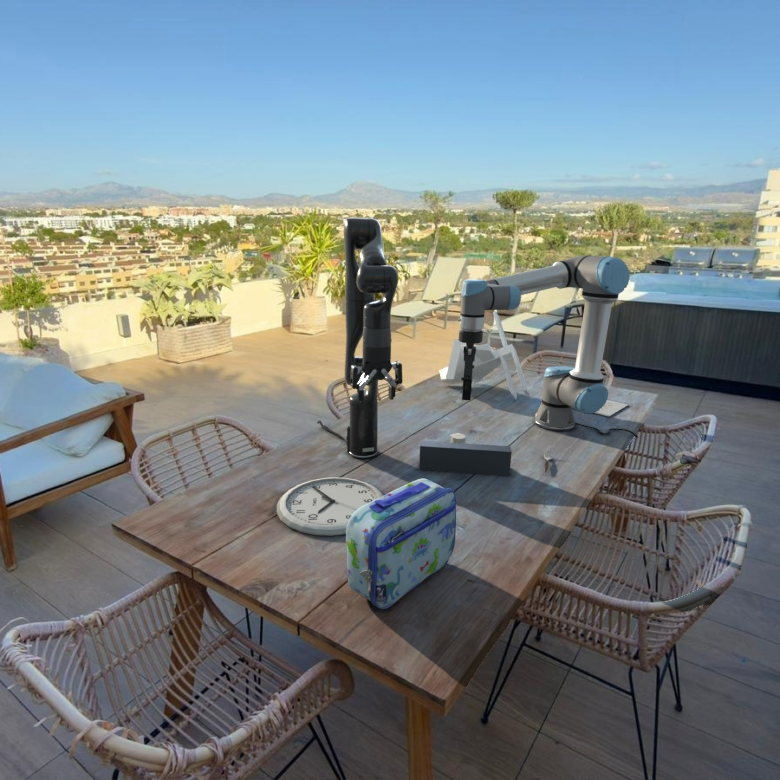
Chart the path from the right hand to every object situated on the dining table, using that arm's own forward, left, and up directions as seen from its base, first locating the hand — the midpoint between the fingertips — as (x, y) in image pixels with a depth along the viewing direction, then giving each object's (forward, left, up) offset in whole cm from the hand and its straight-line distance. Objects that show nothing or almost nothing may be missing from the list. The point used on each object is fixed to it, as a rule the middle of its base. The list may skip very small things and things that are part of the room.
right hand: (466, 393), depth 171 cm
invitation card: (-60, -58, -21) cm, 86 cm away
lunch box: (+14, +70, -21) cm, 74 cm away
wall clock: (+36, +41, -21) cm, 58 cm away
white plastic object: (-9, -70, -21) cm, 74 cm away
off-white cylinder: (+2, 0, -21) cm, 21 cm away
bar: (0, +13, -21) cm, 25 cm away
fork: (-27, +5, -21) cm, 35 cm away
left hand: (+26, +31, +6) cm, 40 cm away
